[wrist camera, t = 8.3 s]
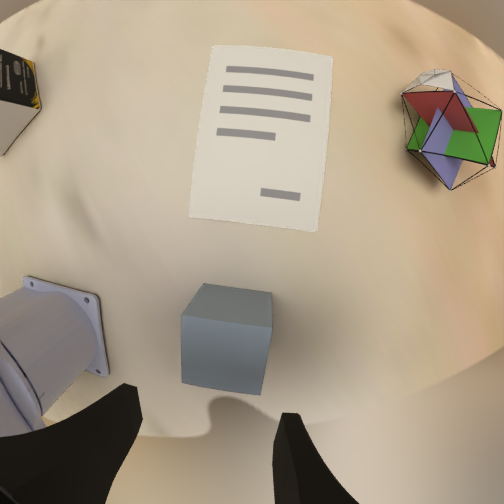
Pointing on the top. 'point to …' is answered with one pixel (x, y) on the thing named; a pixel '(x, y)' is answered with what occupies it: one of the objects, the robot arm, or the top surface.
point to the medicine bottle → (16, 97)
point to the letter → (262, 137)
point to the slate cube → (226, 339)
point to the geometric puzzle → (450, 126)
